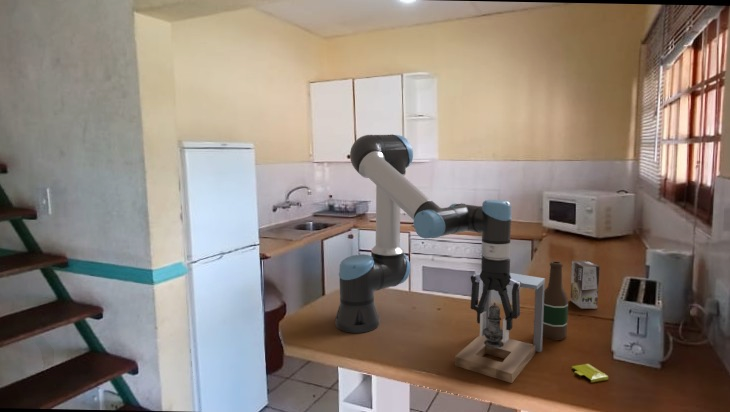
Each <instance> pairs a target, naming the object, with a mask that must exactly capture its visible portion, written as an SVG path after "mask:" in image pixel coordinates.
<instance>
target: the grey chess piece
mask: <svg viewBox="0 0 730 412" xmlns="http://www.w3.org/2000/svg"><path fill="white" fill-rule="evenodd" d="M488 320H489V326H488V328H485V329H484V330H483V332H484V335H485V337H486V338H487V340H485V341H484V344H485V345H486V346H488V347H492V348H500V347H503V346H504V344H503V342H502V341H501V340H502V339H503V328H501V320H502V318H501V308H500V306H499V305H497V304H496V302H493V305H492V304H491V306H490V308H489V317H488Z"/></svg>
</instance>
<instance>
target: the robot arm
mask: <svg viewBox="0 0 730 412" xmlns="http://www.w3.org/2000/svg"><path fill="white" fill-rule="evenodd" d="M349 153H350V154H349V157H350V158H349V159H350V163H351V165H352V167H353V168H354V169H355V171H356V172H357V173H358V174H359V175H360V176H361V177H362V178H365V179H369V180H370V181H372V183H373V184H375V192H376V193H375V194H376V195H375V245H374V246H373V247H372V248H371V251H370V253H371V254H370V255H369V254H355V255H350V256H347V257H345V258H343V259H342V260H341V261H340V264H339V269H338V270H339V271H338V276H339V300H340V301H339V306H338V310H337V313H336V316H335V327H336V328H337V329H338V330H340V331H342V332H345V333H352V334H353V333H354V334H361V333H367V332H372V331H373V330H376V329H377V328H378V327H380V315H379V314H378V311H377V307H376V305H375V292H378V291H381V290H384V289H388V288H393V287H394V288H395V287H397V286H398V285H401V284H403V283H404V282H406V281H407V280H408V278H409V276H410V272H411V263H410V261H409V260H408V259H409V257H408V255H406V254H405V250H404V249H403V247H401V246H400V245H401V243H400V240H401V238H400V237H401V210H403V212H404V213H406V214H407V215H408V216H409V217H410V218H411V219H412V220H413V228H414V230H415V233H416V234H417V236H419V237H420V238H422V239H436V238H437V239H438V238H439V237H444V236H448V235H453V234H454V235H455V234H460V233H465V232H471V233H477V234H481V255H482V257H481V266H480V269H481V271H480V272H481V273H480V272H479V273H480V274H478V273H474V274H472V275H471V276H470V283H471V294H470V295H471V296H470V309H471V310H473V311H475V312H476V322H477V324H479V335H480V336H484V332H483V330H484V329H485V328H486V311H483V310H484V307H485V304H486V302H487V299H488V296H489V293H490V290H491V291H496V292H497V293H498V295H499V298H500V301H501V304H502V309H503V311H504V315H505V317H504V318H502V330H503V342H506V341H507V340H508V339H510V331H511V330H512V329H513V320H514V319H516V320H517V318H519V317H520V315H521V312H520V311H521V306H520V303H521V302H520V301H521V299H520V298H521V297H520V288H521V287H520V286H521V282H520V281H515V280H512V279H511V276H510V273H511V259H510V257H511V230H512V218H513V216H512V205H511V203H510V201H508V200H504V199H487V200H484V201H483V202H482V205H473V204H466V203H462V202H461V203H451V204H450V205H449V206H447V207H440V206H439V205H438V204H437V203H436V202H434V201H433V200H432V199H431V198H430V197H428V195H426V194H425V193H424V192H422V191H421V190H420V189H419V187H417V186H416V185H414V184H413V183H412V182H411V181H410V180H409V179H407V178H406V173H407V172H406V170H407V168H408V167H410V166H411V163H413V160H414V150H413V147H412V145H411V142H410V141H408V138H406V137H404V136H403V135H398V134H393V133H392V134H365V135H362V136H360V137H358V138H357V139H356V140H355V141H354V142H353V144H352V145H351V148H350V152H349ZM477 274H478V275H477ZM480 279H481V280H480ZM480 282H482V284H483V283H484V288H483V287H482V293H481V296H480V300H479V294H480ZM509 283H510V284H511V285H510V288H511V301H510V298H509V294H508V287H507V286H509V285H508V284H509Z"/></svg>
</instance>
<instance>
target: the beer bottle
mask: <svg viewBox="0 0 730 412" xmlns="http://www.w3.org/2000/svg"><path fill="white" fill-rule="evenodd" d="M549 266H550V269H549V279H548V284H547V287H546V288H545V290H544V315H543V338H546V339H550V340H552V341H559V340H560V341H563V339H565V338H566V337H567V333H568V316H569V315H568V314H569V311H568V310H569V297H568V294H567V292H566V291H565V289H564V287H563V271H562V269H563V267H564V265H563V263H562V262H560V261H551V262H550V263H549Z"/></svg>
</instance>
